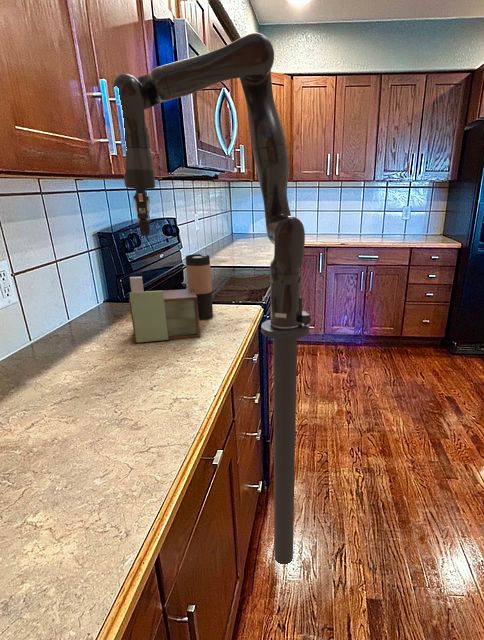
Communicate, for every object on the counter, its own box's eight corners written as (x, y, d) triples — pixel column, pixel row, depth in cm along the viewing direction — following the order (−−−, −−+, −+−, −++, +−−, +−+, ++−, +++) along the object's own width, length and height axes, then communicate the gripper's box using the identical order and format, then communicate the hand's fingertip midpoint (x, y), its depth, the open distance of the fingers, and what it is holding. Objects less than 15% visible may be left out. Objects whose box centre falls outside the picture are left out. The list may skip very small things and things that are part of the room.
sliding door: (168, 337, 120) (161, 275, 113) (168, 340, 119) (161, 276, 111) (136, 340, 118) (127, 277, 111) (136, 343, 116) (127, 278, 109)
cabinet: (196, 326, 131) (193, 288, 127) (200, 336, 123) (197, 296, 118) (135, 331, 126) (130, 292, 122) (135, 343, 118) (129, 301, 113)
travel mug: (192, 320, 136) (187, 258, 129) (188, 314, 143) (183, 254, 135) (215, 318, 139) (212, 257, 131) (211, 312, 146) (207, 253, 138)
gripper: (153, 168, 103) (160, 236, 109) (153, 169, 115) (159, 230, 122) (120, 167, 101) (129, 237, 107) (124, 168, 113) (132, 231, 120)
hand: (145, 233), depth 114 cm, fingers open, 8 cm apart
